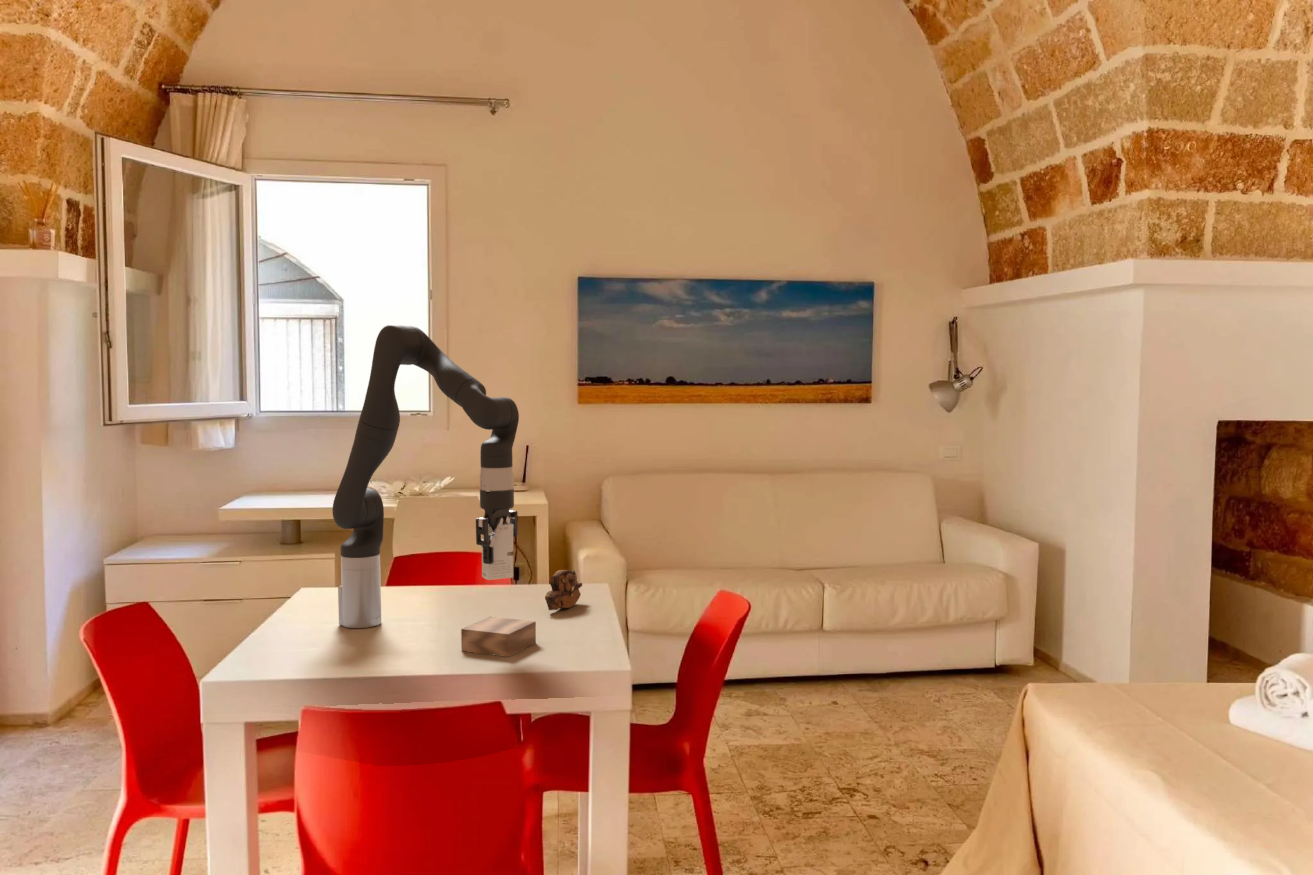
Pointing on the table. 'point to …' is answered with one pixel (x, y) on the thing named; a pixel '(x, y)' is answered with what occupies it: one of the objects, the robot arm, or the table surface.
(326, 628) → the table surface
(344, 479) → the robot arm
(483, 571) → the skincare box
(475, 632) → the walnut block
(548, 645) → the table surface
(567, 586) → the wooden carving
